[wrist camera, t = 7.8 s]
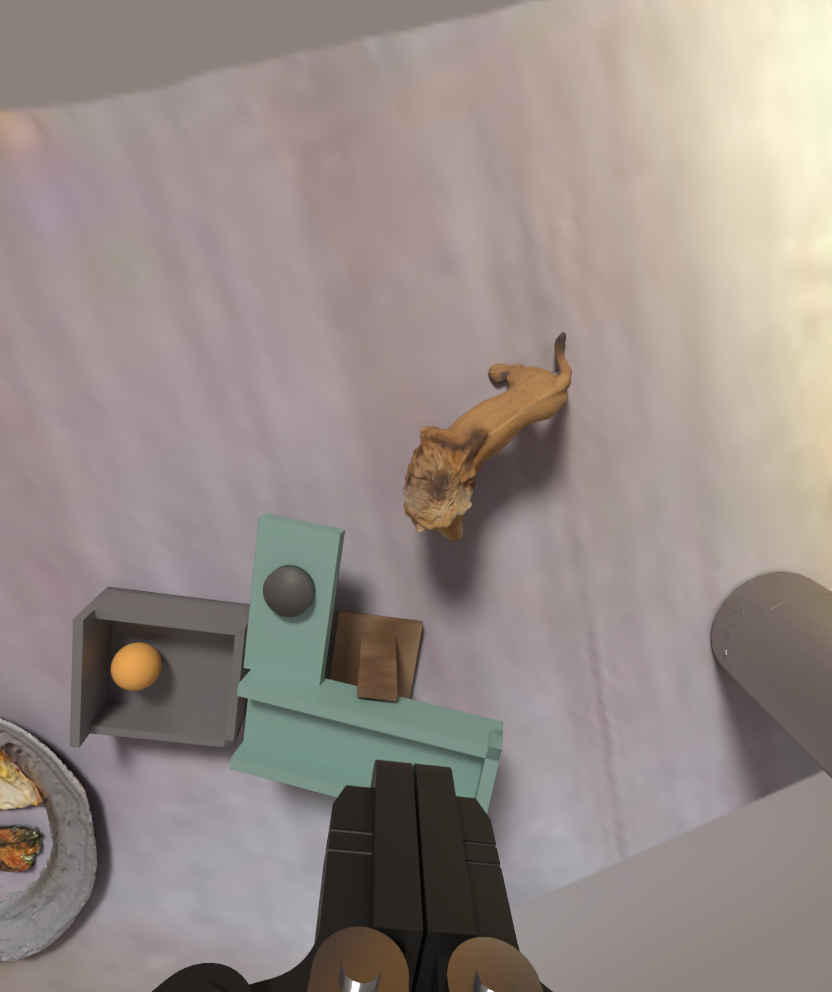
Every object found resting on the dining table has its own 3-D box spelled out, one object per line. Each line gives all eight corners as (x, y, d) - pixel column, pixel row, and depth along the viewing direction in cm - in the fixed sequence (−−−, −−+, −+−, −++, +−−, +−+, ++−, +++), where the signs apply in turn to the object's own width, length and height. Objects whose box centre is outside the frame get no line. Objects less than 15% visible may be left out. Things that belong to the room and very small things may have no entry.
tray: (255, 605, 44) (239, 639, 39) (243, 717, 47) (227, 762, 42) (107, 586, 43) (73, 618, 39) (103, 702, 46) (69, 746, 41)
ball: (165, 655, 42) (112, 659, 40) (162, 697, 43) (110, 703, 41) (161, 632, 44) (111, 635, 43) (158, 672, 45) (109, 676, 44)
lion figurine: (437, 520, 43) (451, 568, 35) (380, 471, 42) (379, 507, 34) (588, 359, 41) (642, 367, 32) (531, 302, 40) (571, 295, 31)
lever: (537, 570, 36) (538, 588, 33) (485, 803, 40) (482, 836, 37) (265, 513, 38) (245, 525, 35) (241, 740, 42) (222, 766, 39)
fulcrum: (421, 621, 45) (429, 681, 37) (400, 739, 48) (403, 818, 40) (339, 610, 45) (329, 669, 37) (322, 731, 47) (310, 809, 39)
